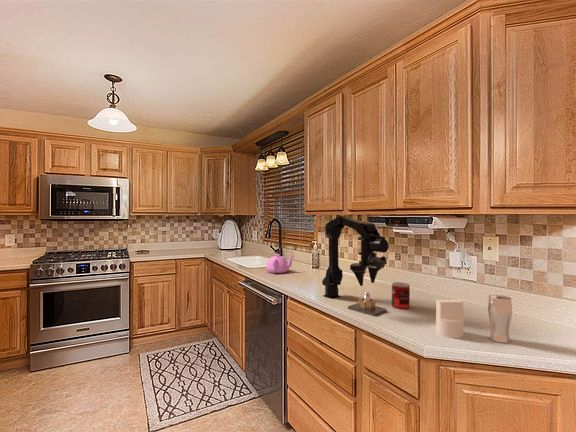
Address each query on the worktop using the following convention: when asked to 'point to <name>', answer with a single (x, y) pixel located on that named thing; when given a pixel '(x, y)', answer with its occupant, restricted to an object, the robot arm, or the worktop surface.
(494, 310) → the beer glass
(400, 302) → the canned food
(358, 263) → the robot arm
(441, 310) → the base with upright slab
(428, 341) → the worktop surface
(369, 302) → the ring
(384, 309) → the shaft stand
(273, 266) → the teapot
